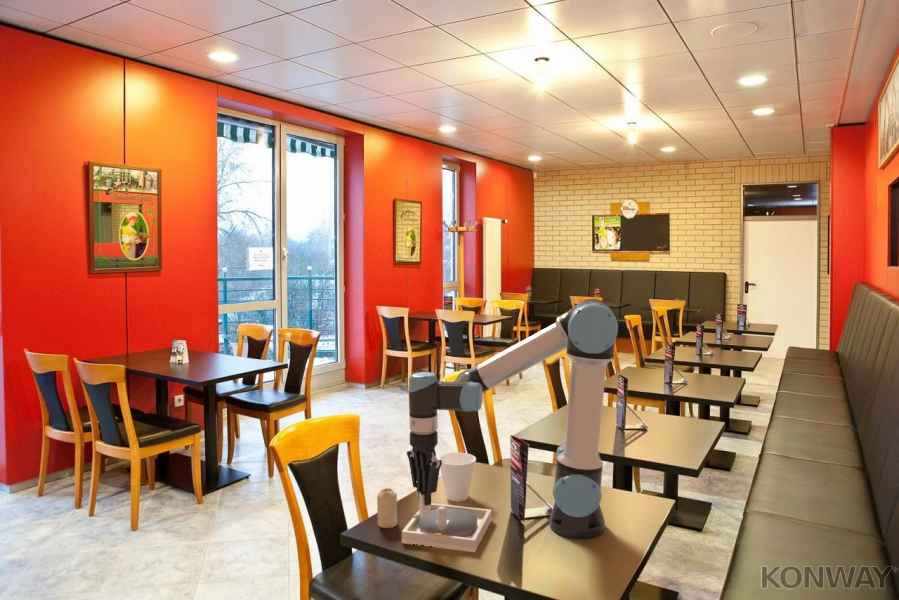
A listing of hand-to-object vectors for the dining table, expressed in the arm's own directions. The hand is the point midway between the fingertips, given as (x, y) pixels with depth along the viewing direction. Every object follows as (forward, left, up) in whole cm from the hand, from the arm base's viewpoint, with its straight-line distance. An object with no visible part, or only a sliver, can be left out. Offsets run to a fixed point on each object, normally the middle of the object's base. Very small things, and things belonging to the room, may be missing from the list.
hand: (425, 515), depth 181 cm
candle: (+13, -5, -6) cm, 15 cm away
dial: (-5, -5, -5) cm, 8 cm away
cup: (-1, -29, -6) cm, 29 cm away
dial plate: (-5, -5, -6) cm, 9 cm away
